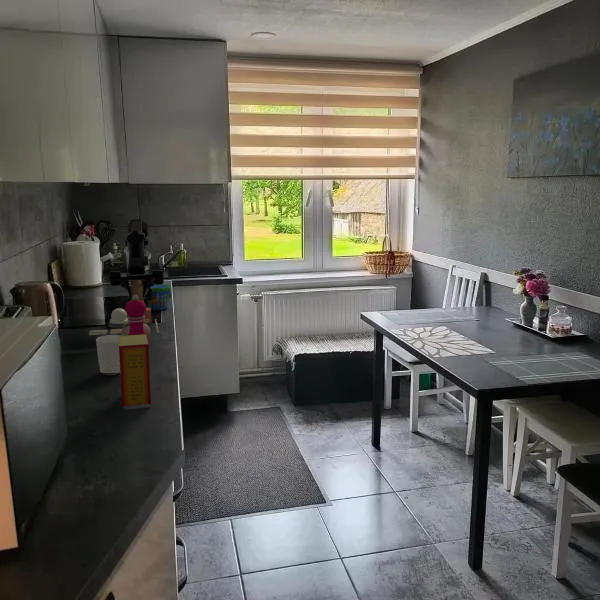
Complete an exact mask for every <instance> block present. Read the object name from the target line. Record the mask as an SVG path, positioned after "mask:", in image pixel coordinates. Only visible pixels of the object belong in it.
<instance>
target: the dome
mask: <svg viewBox="0 0 600 600" xmlns="http://www.w3.org/2000/svg"><path fill="white" fill-rule="evenodd" d="M110 316H111V317H110V318H109V323H111V324H125V323H127V322H129V321H128V314H127V313H126V310H125V309H124V308H120V307H118V308H115V309H113V310H112V312H111V314H110Z"/></svg>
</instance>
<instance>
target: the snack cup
mask: <svg viewBox="0 0 600 600" xmlns="http://www.w3.org/2000/svg"><path fill="white" fill-rule="evenodd" d="M151 289H152V299H153V300H151V301H149V300H148V308H151V311H165V310H167V309H168V306H169V302H170V301H169V300H171V298H172V291H171V289H172V286H171V285H169V284H160V285H155V284H154V286H151ZM148 297H149V296H148Z"/></svg>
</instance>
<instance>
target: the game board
mask: <svg viewBox="0 0 600 600" xmlns="http://www.w3.org/2000/svg"><path fill="white" fill-rule="evenodd" d="M154 322H155V325H156V326H155V328H156V333H157V334H158V333H159V334H160V332H159V327H158V326H159V325H158V322H157V318H155V319H154ZM122 325H124V324H111V323H110V322H109V323H108V327H109V328H111V329H110V331H109V335H117V334H121V331H122V328H123V327H124V326H123V327H122ZM95 335H96V336H97V335H108V329H97V330H94V329H93V330H89V333H88V336H95Z"/></svg>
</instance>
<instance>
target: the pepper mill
mask: <svg viewBox="0 0 600 600" xmlns="http://www.w3.org/2000/svg"><path fill="white" fill-rule="evenodd" d="M132 299H133V300H131V301H130V300H129V301H128V302H127V303H126V304H125V309H124V310H125V311H126V313H127V318H128V321H129V323H130V331H129V334H128V335H140V334H146V333H145V331H144V327H143V322H144V320H145V318H144V317H145V316H144V313H145V312H146V305H145V303H144V302H143V301H141V300H138V296H137V295H133V297H132ZM146 336H147V335H146ZM149 339H150V338H149ZM149 339H148V337H147V341H148V348H149V349H150V346H151V344H150V340H149Z"/></svg>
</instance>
